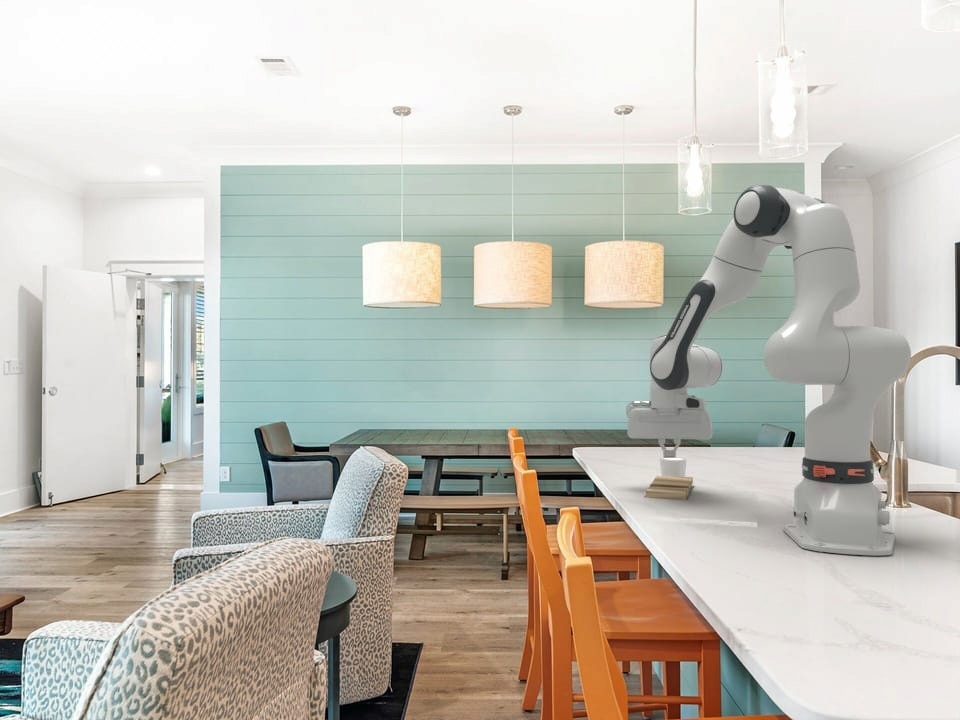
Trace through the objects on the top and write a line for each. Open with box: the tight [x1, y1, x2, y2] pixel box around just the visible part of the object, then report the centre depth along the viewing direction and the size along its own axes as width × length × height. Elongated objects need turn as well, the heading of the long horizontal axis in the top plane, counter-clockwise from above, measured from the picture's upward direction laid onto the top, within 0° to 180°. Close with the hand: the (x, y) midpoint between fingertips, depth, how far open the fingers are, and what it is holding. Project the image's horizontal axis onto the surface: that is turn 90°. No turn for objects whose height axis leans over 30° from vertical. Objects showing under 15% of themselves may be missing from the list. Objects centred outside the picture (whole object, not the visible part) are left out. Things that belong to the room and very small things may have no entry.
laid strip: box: [645, 484, 688, 501], centre depth 172 cm, size 7×9×2 cm
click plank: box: [649, 475, 694, 494], centre depth 181 cm, size 12×9×2 cm
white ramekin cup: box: [659, 456, 687, 477], centre depth 193 cm, size 7×7×7 cm
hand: (669, 457), depth 178 cm, fingers closed
